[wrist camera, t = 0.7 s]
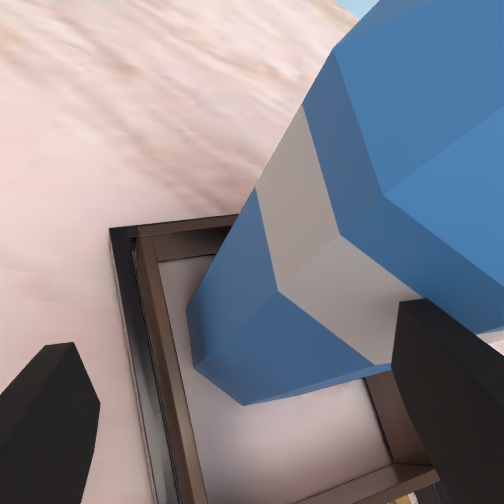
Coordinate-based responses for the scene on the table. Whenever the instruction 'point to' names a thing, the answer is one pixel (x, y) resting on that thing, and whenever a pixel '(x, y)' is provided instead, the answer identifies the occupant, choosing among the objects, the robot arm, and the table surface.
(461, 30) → the water bottle
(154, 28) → the table surface
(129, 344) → the rails
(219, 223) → the drawer
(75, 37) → the table surface
